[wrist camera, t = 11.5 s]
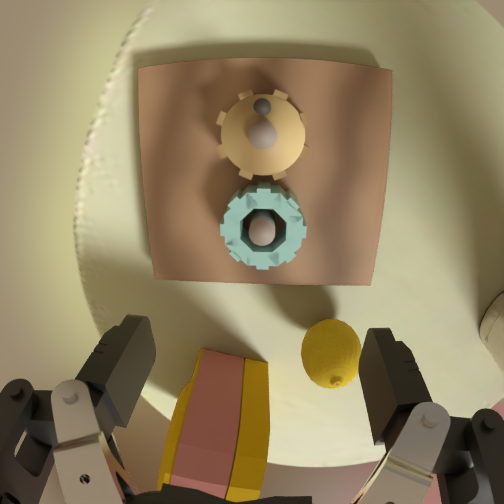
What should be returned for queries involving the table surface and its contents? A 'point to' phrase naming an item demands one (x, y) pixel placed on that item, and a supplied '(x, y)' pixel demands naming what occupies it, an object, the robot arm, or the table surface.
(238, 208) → the teal gear
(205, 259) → the gear board
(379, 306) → the table surface
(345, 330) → the lemon
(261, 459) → the alarm clock
